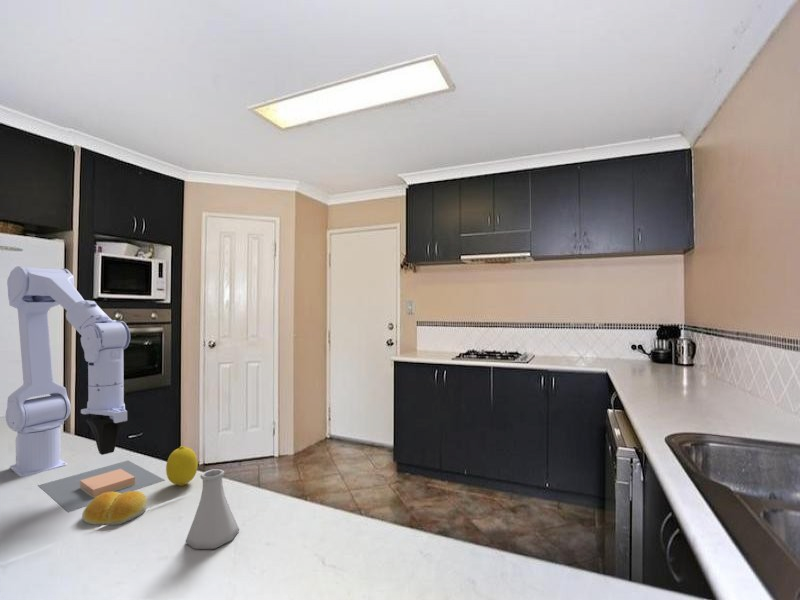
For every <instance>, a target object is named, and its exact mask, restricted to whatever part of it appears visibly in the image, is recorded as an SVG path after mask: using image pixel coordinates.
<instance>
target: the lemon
mask: <svg viewBox="0 0 800 600" xmlns="http://www.w3.org/2000/svg"><path fill="white" fill-rule="evenodd" d="M165 466H166V467H165V472H166V477H167V479H168V480H169V482H171V484H174V485H177V486H179V487H184V486H186V484H188V483H189V482H191V481H192V480H193V479H194V478H195V476H196V474H197V471H198V466H199V465H198V457H197V454H196V452H195V451H194V450H193V449H191V448H190V447H186V446H185V445H181V446H179V447H178V448H176V449H174V450H173V451H172V452H171V453H170V454H169V456H168V459H167V461H166V465H165Z"/></svg>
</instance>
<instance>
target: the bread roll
mask: <svg viewBox="0 0 800 600" xmlns="http://www.w3.org/2000/svg"><path fill="white" fill-rule="evenodd" d="M147 504H148V499H147V496H146V495H145V493H143V492H141V491H139V490H134V491H129V492H125V493H122V494H121V493H118V492H105V493H102V494H100V495H98V496H97V497H95V498H94V499H93V500H92V501H91V503H90V504H89V505H88V506H86V507H84V510H82V514H81V515H82V516H81V517H82V521H83V522H85V523H86V524H90V525H99V526H106V525H107V526H108V525H109V526H116V525H121V524H124V523H127V522H129V521H131V520H134V519H135V518H137V517H139V516H141V515H142V514H143V513H144V512H145V511H146V510H147V507H148V506H147Z"/></svg>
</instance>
